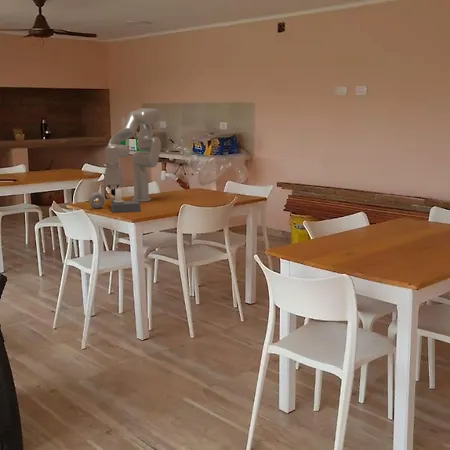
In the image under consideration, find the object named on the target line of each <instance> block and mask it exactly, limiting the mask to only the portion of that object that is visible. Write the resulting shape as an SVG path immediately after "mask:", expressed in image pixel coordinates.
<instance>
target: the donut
mask: <svg viewBox="0 0 450 450" xmlns="http://www.w3.org/2000/svg"><path fill="white" fill-rule="evenodd" d="M96 199H98V201H97V202H95V200H96ZM88 203H89V206H90V207H91V208H93V209H100V208H102V207H103V206H104V203H105V197H104V195H103V193H101V192H96V191H95V192H93V193H91V194H90V195H89V198H88Z"/></svg>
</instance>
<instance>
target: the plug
mask: <svg viewBox="0 0 450 450" xmlns="http://www.w3.org/2000/svg"><path fill="white" fill-rule="evenodd" d="M122 194H123V193H122V188H117V189H115V200H114V203H116V204H119V203H124V201H125V200H124V199H122V197H123V196H122Z"/></svg>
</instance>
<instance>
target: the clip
mask: <svg viewBox="0 0 450 450" xmlns="http://www.w3.org/2000/svg"><path fill="white" fill-rule="evenodd" d="M106 197H107V198H108V199H110V201H111V200H116V198H115V196H113V195H112V194H111V192H106Z"/></svg>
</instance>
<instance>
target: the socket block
mask: <svg viewBox="0 0 450 450" xmlns="http://www.w3.org/2000/svg"><path fill="white" fill-rule="evenodd" d="M110 210H111V212H112V213H113V214H115V213H117V214H118V213H138V212H139V213H140V212H141V203H140V201H132V200H124V203H119V204H116V203H114V200H111V199H110Z"/></svg>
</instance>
